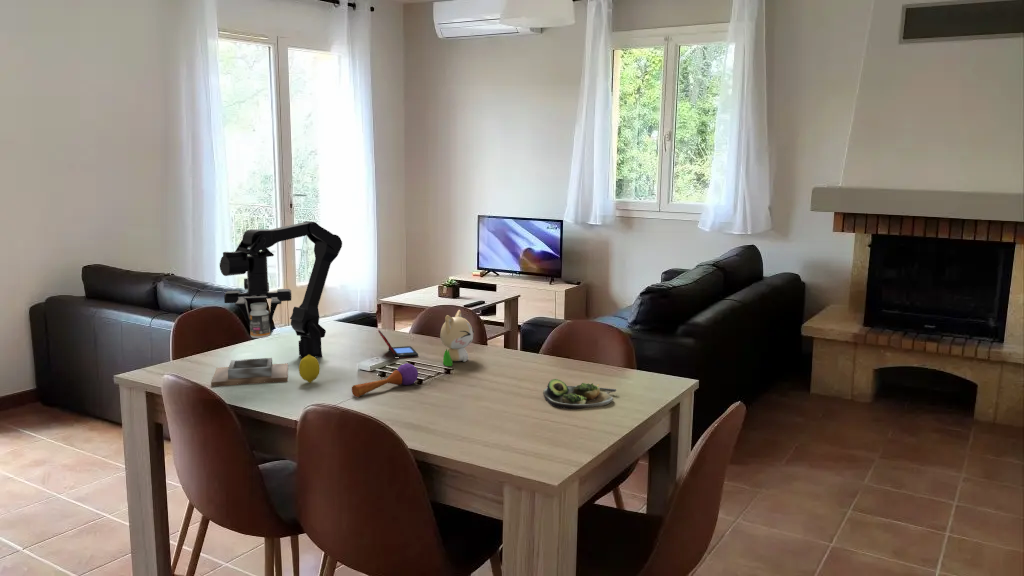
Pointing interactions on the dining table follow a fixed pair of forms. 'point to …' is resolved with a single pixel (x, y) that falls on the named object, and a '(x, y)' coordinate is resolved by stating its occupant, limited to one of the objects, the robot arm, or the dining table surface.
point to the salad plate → (576, 395)
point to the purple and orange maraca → (389, 380)
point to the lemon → (309, 368)
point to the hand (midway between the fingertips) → (259, 324)
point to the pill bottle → (259, 320)
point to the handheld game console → (400, 350)
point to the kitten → (456, 338)
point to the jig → (250, 372)
